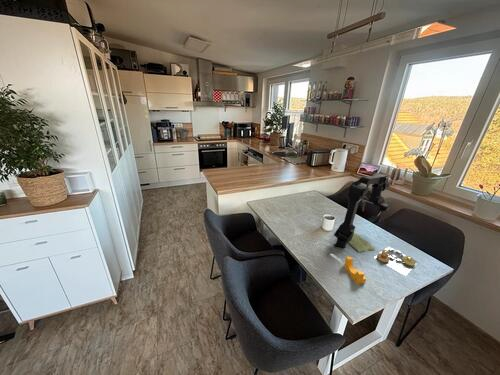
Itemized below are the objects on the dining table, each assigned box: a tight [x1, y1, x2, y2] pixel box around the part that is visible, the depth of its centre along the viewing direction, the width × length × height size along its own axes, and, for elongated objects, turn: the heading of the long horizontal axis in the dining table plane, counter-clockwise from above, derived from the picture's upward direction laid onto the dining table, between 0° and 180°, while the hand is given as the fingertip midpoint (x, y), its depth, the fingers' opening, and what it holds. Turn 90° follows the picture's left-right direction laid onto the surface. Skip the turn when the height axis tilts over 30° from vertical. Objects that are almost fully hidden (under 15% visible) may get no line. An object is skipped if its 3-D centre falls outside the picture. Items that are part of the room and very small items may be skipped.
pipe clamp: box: [343, 256, 367, 285], centre depth 104 cm, size 12×4×6 cm, turn 5°
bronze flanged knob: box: [376, 249, 390, 264], centre depth 113 cm, size 6×6×6 cm
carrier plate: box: [373, 246, 420, 277], centre depth 113 cm, size 18×16×5 cm
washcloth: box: [343, 233, 375, 253], centre depth 127 cm, size 13×18×3 cm
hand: (369, 213), depth 134 cm, fingers open, 9 cm apart
